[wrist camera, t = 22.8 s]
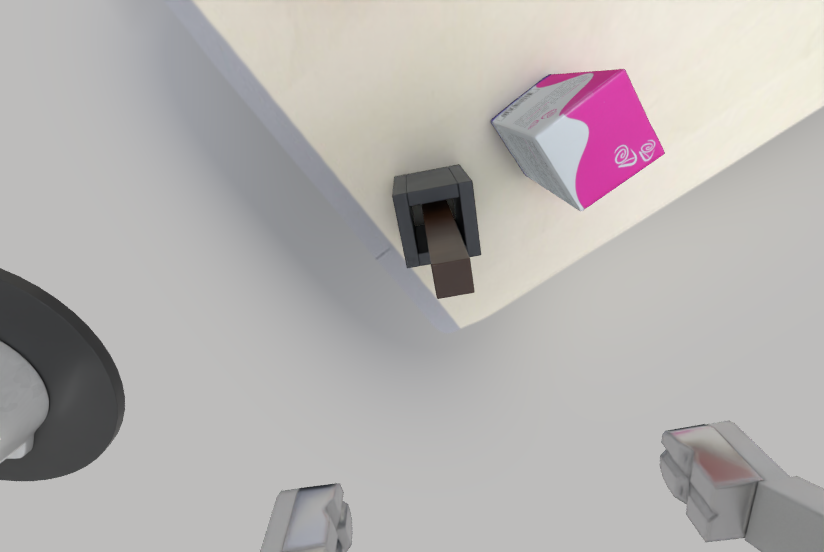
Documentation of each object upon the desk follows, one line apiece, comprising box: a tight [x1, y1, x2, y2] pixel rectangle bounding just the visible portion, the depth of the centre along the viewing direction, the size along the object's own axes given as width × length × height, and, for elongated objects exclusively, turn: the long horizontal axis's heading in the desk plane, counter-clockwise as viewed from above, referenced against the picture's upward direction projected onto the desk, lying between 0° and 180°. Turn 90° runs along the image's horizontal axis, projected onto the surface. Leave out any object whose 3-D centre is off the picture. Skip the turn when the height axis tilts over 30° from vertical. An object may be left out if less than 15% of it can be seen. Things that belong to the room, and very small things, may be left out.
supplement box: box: [491, 69, 665, 211], centre depth 28 cm, size 6×6×12 cm
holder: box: [392, 165, 481, 268], centre depth 33 cm, size 6×6×7 cm
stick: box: [422, 200, 474, 299], centre depth 28 cm, size 2×2×16 cm
